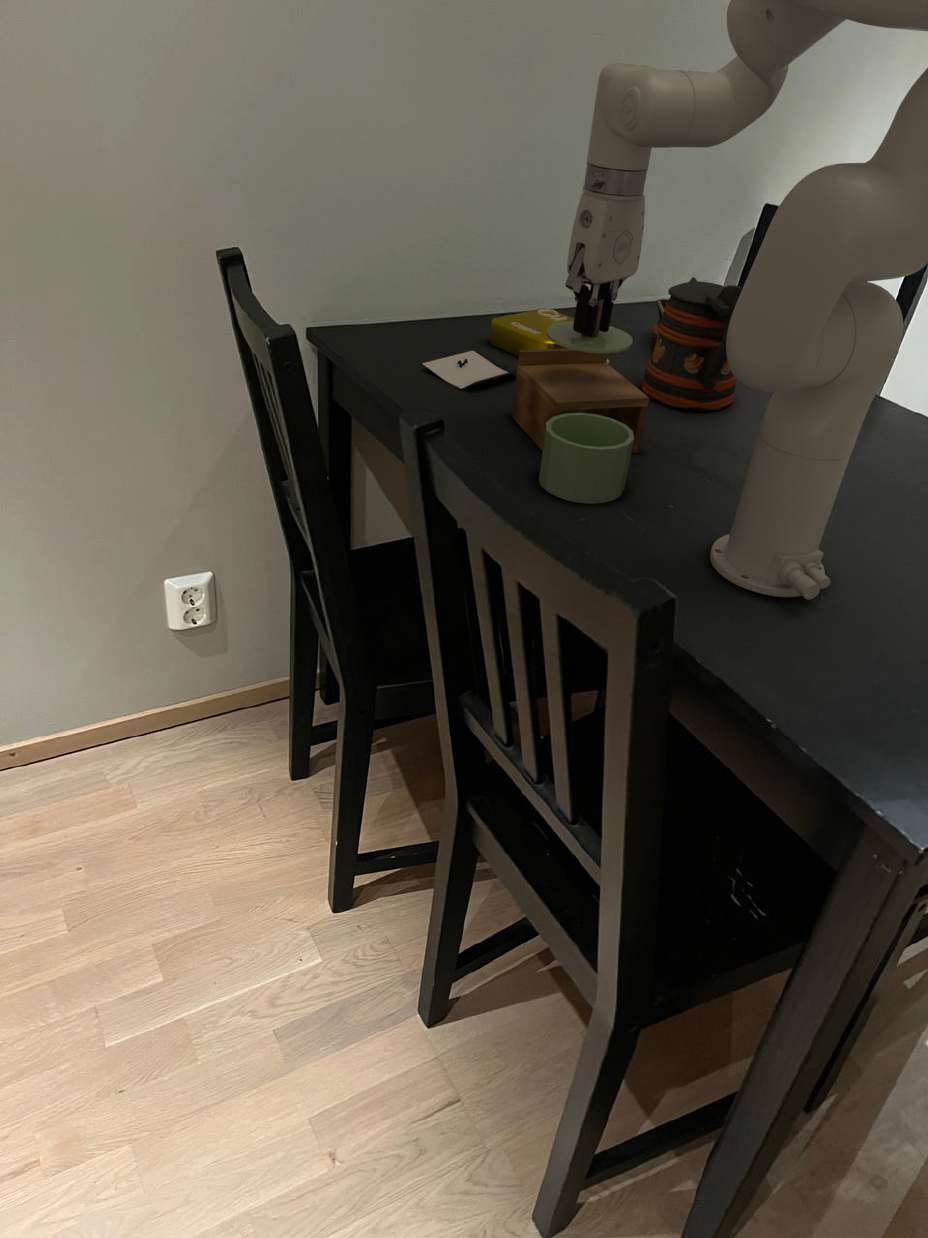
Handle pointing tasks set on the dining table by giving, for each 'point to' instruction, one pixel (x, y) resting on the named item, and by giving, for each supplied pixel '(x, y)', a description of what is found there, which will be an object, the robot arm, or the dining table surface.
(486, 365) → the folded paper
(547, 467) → the pot
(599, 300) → the lid
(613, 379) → the shelf
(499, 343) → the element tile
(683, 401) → the beer stein
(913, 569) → the dining table surface
